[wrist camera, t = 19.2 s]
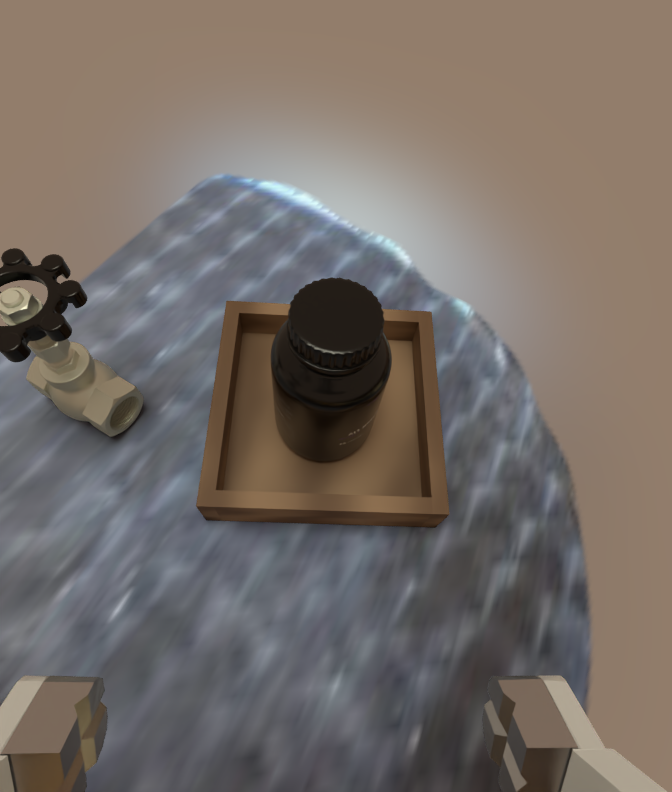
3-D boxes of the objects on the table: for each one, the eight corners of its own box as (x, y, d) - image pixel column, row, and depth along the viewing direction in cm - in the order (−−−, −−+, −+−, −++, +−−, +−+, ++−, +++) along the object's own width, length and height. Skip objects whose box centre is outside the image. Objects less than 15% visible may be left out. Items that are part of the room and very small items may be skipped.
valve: (95, 349, 37) (13, 228, 27) (165, 390, 36) (108, 282, 25) (28, 416, 34) (-95, 312, 24) (101, 463, 33) (7, 376, 23)
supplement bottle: (368, 470, 33) (400, 386, 22) (267, 457, 33) (252, 365, 22) (376, 382, 36) (408, 270, 26) (284, 369, 36) (278, 253, 26)
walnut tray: (206, 520, 32) (196, 506, 29) (232, 328, 39) (226, 300, 36) (435, 527, 33) (449, 514, 30) (421, 338, 40) (431, 311, 36)
